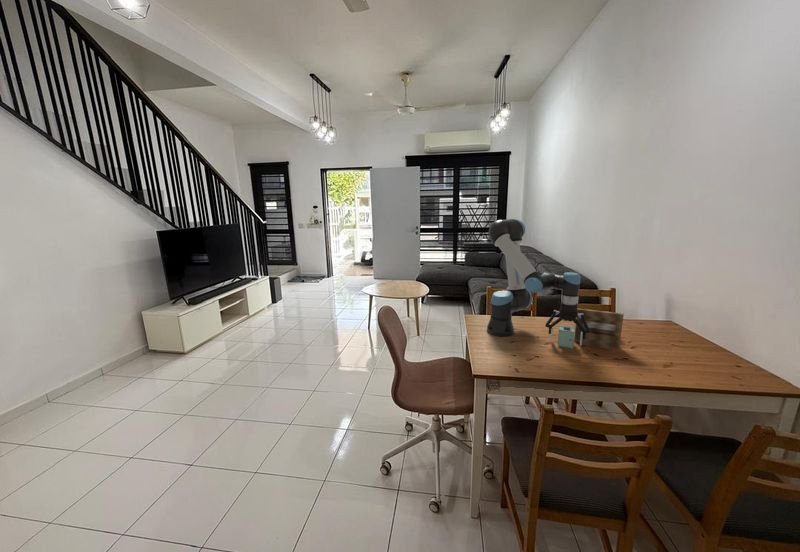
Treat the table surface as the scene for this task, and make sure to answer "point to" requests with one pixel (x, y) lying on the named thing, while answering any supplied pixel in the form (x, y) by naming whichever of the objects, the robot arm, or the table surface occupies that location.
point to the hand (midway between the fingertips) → (565, 342)
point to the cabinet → (566, 336)
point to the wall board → (600, 328)
